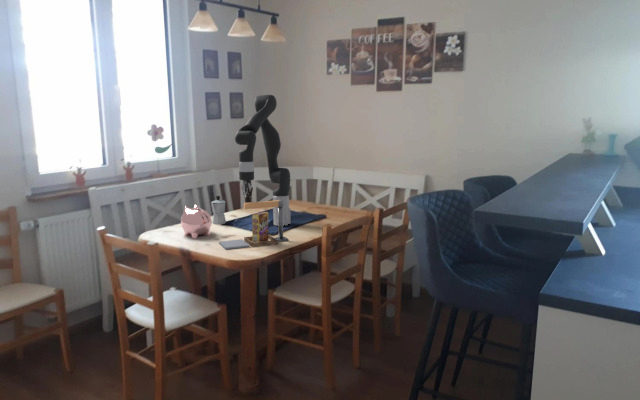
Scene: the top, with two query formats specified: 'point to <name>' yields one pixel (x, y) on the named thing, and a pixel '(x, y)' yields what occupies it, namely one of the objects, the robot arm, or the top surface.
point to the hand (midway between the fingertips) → (247, 204)
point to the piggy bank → (196, 221)
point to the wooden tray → (261, 243)
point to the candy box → (260, 227)
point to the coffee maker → (218, 211)
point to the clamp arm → (263, 204)
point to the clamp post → (280, 226)
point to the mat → (233, 244)
